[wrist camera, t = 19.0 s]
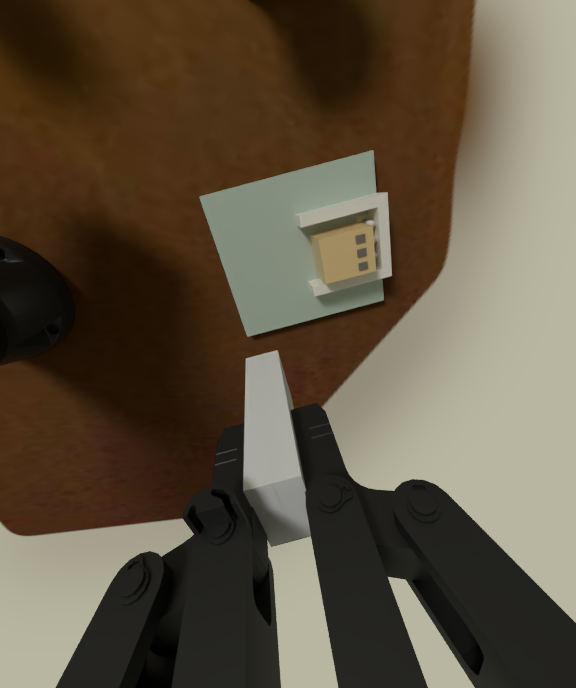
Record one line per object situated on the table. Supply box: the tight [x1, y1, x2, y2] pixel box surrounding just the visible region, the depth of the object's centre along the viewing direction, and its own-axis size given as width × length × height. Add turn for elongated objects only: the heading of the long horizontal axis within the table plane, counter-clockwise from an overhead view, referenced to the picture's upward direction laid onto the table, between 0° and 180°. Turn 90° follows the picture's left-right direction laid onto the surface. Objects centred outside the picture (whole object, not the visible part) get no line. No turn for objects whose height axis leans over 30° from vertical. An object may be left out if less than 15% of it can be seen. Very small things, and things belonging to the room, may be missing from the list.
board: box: [200, 150, 392, 337], centre depth 35 cm, size 20×18×4 cm
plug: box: [310, 222, 376, 284], centre depth 33 cm, size 6×5×5 cm
